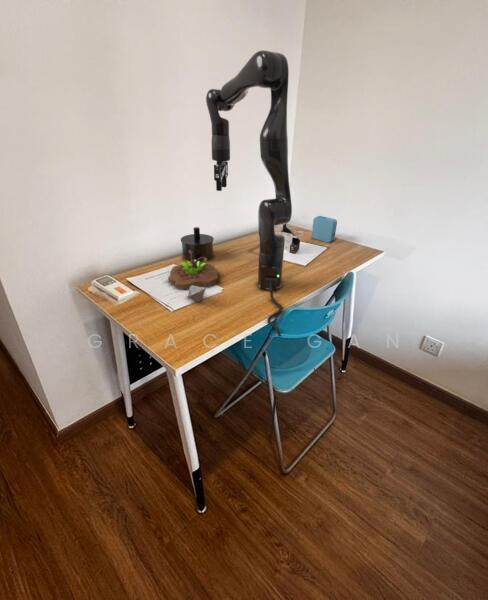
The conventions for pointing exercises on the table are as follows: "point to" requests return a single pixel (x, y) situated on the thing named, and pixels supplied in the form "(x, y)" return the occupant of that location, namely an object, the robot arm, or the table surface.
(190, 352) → the table surface
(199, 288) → the paper boat
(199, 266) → the plant
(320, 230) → the data package
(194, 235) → the lid
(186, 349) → the table surface
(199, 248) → the pot
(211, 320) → the table surface
